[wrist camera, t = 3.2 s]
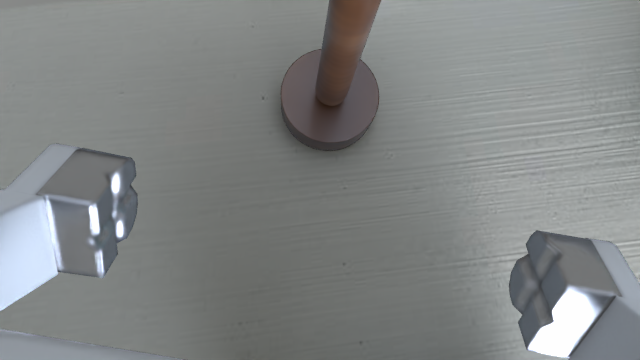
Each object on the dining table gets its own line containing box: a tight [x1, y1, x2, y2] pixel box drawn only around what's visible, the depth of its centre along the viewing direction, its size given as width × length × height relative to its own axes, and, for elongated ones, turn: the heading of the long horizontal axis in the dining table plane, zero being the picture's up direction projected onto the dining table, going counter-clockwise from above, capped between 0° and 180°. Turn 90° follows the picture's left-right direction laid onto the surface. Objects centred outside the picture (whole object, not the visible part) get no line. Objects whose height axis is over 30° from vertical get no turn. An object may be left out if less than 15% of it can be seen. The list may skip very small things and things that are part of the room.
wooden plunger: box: [281, 0, 381, 151], centre depth 20 cm, size 6×6×21 cm
